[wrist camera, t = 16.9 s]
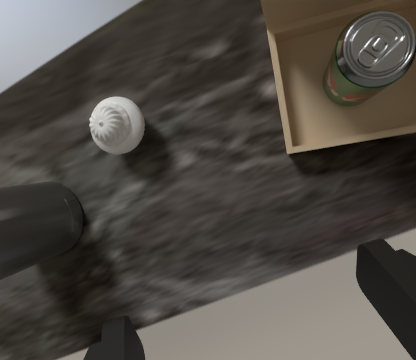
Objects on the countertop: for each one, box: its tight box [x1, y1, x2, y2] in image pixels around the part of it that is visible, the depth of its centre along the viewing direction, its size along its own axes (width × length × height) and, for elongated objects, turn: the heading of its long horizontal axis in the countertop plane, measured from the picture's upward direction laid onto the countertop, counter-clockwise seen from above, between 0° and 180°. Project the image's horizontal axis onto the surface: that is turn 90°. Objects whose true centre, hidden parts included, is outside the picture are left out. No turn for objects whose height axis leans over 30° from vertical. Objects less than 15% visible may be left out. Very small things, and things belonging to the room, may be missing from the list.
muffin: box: [89, 97, 145, 154], centre depth 37 cm, size 6×6×7 cm
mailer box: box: [261, 0, 416, 154], centre depth 27 cm, size 14×13×15 cm
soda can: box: [323, 11, 416, 107], centre depth 28 cm, size 5×5×12 cm
